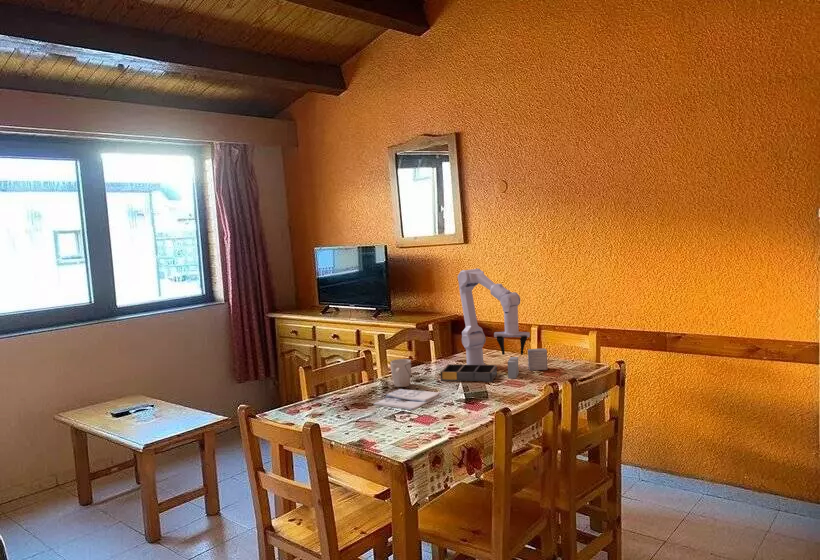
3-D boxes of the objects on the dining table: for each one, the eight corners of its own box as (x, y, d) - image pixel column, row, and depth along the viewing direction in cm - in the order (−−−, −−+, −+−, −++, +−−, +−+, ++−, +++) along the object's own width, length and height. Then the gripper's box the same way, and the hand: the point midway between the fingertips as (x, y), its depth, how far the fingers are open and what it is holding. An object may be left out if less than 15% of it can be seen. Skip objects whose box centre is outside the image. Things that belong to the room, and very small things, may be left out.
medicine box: (546, 367, 267) (545, 348, 266) (547, 370, 263) (547, 350, 262) (528, 368, 268) (527, 348, 267) (529, 370, 263) (528, 350, 263)
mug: (408, 390, 243) (407, 365, 243) (387, 390, 245) (386, 365, 244) (414, 382, 255) (412, 358, 254) (394, 382, 256) (392, 359, 255)
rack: (448, 372, 267) (448, 364, 267) (496, 373, 261) (496, 365, 261) (440, 381, 254) (440, 372, 254) (491, 382, 248) (491, 373, 248)
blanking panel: (511, 373, 261) (510, 357, 261) (518, 373, 260) (518, 357, 260) (508, 378, 253) (507, 361, 252) (516, 378, 252) (515, 362, 251)
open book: (442, 397, 232) (441, 392, 232) (412, 412, 216) (412, 406, 216) (401, 392, 243) (400, 386, 243) (369, 406, 227) (369, 400, 226)
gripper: (492, 323, 253) (493, 356, 254) (527, 323, 248) (529, 356, 250) (495, 321, 259) (496, 352, 261) (529, 320, 255) (531, 352, 256)
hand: (512, 354), depth 256 cm, fingers open, 7 cm apart
